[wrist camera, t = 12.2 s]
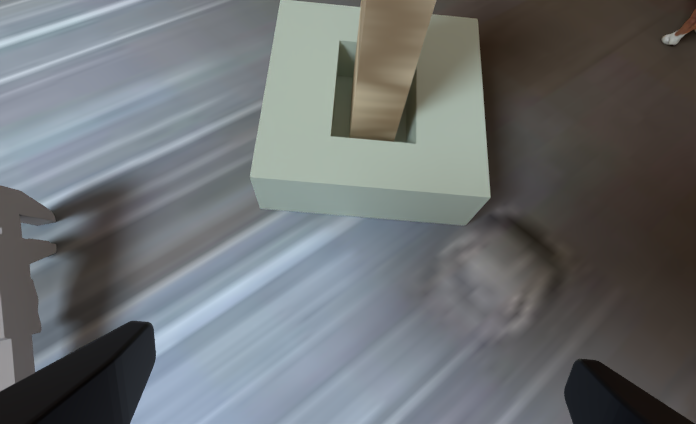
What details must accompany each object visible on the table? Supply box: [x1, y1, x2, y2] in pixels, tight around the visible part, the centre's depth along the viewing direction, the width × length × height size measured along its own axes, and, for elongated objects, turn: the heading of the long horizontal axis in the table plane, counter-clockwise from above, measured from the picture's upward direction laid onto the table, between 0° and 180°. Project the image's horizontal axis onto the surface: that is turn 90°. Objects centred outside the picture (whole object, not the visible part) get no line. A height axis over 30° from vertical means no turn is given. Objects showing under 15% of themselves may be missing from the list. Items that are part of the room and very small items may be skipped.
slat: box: [349, 0, 436, 142], centre depth 20 cm, size 2×4×13 cm, turn 177°
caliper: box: [0, 186, 56, 391], centre depth 17 cm, size 20×1×6 cm, turn 14°
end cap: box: [250, 0, 491, 226], centre depth 25 cm, size 12×12×4 cm
